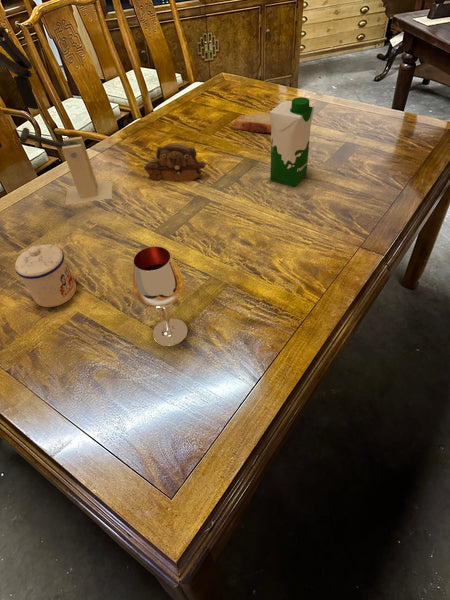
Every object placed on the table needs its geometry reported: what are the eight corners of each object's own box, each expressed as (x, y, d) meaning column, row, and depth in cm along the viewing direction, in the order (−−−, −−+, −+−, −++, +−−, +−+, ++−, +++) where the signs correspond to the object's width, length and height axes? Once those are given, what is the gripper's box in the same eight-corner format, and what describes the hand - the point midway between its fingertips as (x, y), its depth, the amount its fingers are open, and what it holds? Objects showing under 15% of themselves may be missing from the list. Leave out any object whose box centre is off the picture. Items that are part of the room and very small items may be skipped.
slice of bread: (229, 125, 134) (228, 113, 131) (276, 110, 139) (277, 99, 136) (258, 147, 123) (258, 134, 120) (309, 130, 128) (310, 118, 125)
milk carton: (295, 189, 106) (301, 110, 91) (264, 180, 110) (265, 102, 95) (311, 173, 111) (318, 95, 96) (281, 165, 114) (284, 89, 100)
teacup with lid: (75, 305, 83) (54, 261, 74) (29, 312, 82) (2, 268, 74) (81, 265, 91) (63, 221, 83) (39, 271, 91) (16, 227, 82)
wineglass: (170, 309, 80) (152, 234, 67) (201, 328, 77) (189, 253, 64) (139, 336, 76) (113, 262, 63) (170, 358, 73) (151, 284, 59)
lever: (19, 143, 95) (19, 134, 94) (22, 134, 98) (23, 124, 97) (79, 160, 100) (80, 151, 99) (80, 150, 104) (82, 142, 102)
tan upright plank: (66, 209, 107) (44, 155, 96) (68, 190, 113) (48, 137, 102) (113, 201, 108) (96, 147, 97) (113, 183, 114) (97, 130, 103)
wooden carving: (146, 187, 111) (138, 152, 104) (149, 178, 114) (141, 143, 107) (207, 185, 110) (204, 149, 103) (208, 176, 113) (205, 140, 106)
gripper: (-71, 54, 62) (-6, 168, 80) (23, -16, 75) (60, 96, 93) (-112, 45, 63) (-39, 159, 81) (-13, -22, 76) (31, 89, 94)
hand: (14, 126), depth 87 cm, fingers open, 13 cm apart
